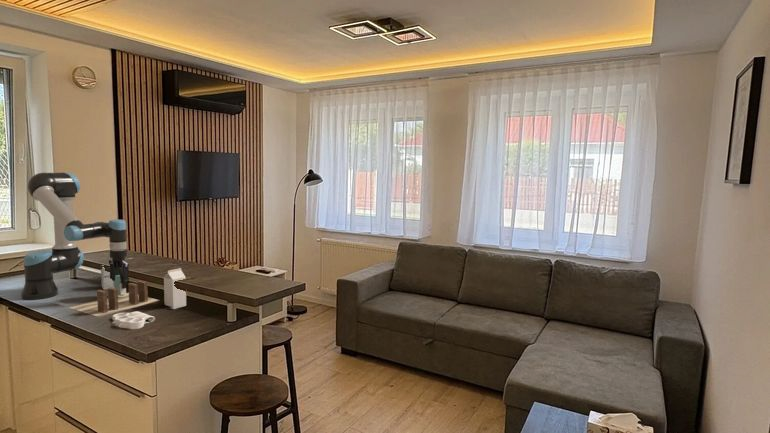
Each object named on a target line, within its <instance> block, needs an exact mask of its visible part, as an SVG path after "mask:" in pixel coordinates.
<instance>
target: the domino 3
mask: <svg viewBox="0 0 770 433" xmlns="http://www.w3.org/2000/svg"><path fill="white" fill-rule="evenodd" d="M120 282H121V280H120V275H116V276H115V288H116V289H118V295H119V296H123V295H120Z"/></svg>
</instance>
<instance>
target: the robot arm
mask: <svg viewBox="0 0 770 433" xmlns="http://www.w3.org/2000/svg"><path fill="white" fill-rule="evenodd" d="M27 182H28V183H27V190H28V193H29V194H30V196H31V198H33V199H34V200H35V201H38V202H39V203H40V204H41V205H42V206H43V207H44V208H45V209H46V210H47V211H48V212H49V214H51V215H52V217H53V230H54V245H52V247H51V249H41V250H36V251H35V250H34V251H31V252H29V253H27V254H26V255H24V257H23V267H24V268H23V269H24V271H23V272H24V279H25V280H24V281H25V282H24V286H23V289H22V291H21V299H23V300H28V301H29V300H32V301H33V300H41V299H47V298H51V297H55V296H57V295H58V294H59V289H58V286H57V284H56V282H55V280H54V274H58V273H64V272H69V271H72V270H77V269H79V268H80V267H81V266H82V265H83V262H84V259H85V258H84V256H85V255H84V252H83V250H82V249H81V248H79V246H78V244H76V243H75V242H78V241H81V240H90V239H97V238H109V240H108V242H109V245H108V246H109V250H110V251H109V258H111V259H110V260H108V263H109V264H108V265H110V279H112V281H113V288H115V276H116V275H119V276H120V280H121V282H120V295H124V294H126V293H127V282H129V281H130V275H129V274H130V270H129V266H130V263H129V262H126V260H125V258H126V257H127V256H128V251H127V249H128V246H127V244H128V243H127V223H126V220H125V219H117V218H116V219H110V220H109V221H108V222H106V221H95V222H93V223H86V224H85V223H83V222H82V221H81V220H80V219H79V218H78V217H77V216H76V215H75V213H74V211H73V208H74V207H73V200H74V199H75V198H76V194H78V193H80V190H81V182H80V180H79V179H78V177H77V175H75V174H74V173H71V172H70V173H69V172H39V173H36V174H34V175H33V176H31V177H30V179H29V181H27Z"/></svg>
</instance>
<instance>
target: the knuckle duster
mask: <svg viewBox="0 0 770 433" xmlns="http://www.w3.org/2000/svg"><path fill="white" fill-rule="evenodd" d="M155 320H156V317H155V316H153V315H149V314H148V313H144V312H142V311H138V310H137V311H132V312H117V313H114V314H113V315H112V322H111V323H110V324H113V325H114V326H115V327H119V329H120V328H121V329H128V330H136V329H141V328H143V327H144V326H145V324H150V323H153V322H154V321H155Z"/></svg>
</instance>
